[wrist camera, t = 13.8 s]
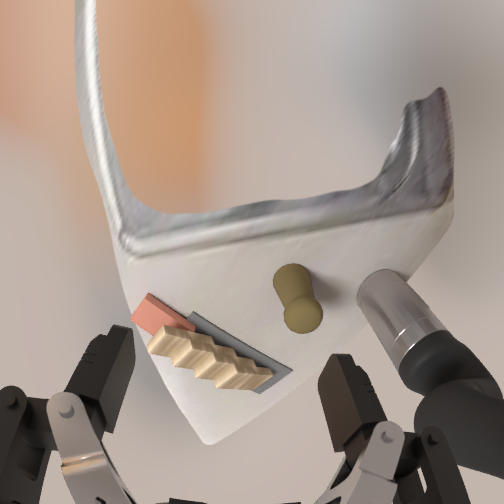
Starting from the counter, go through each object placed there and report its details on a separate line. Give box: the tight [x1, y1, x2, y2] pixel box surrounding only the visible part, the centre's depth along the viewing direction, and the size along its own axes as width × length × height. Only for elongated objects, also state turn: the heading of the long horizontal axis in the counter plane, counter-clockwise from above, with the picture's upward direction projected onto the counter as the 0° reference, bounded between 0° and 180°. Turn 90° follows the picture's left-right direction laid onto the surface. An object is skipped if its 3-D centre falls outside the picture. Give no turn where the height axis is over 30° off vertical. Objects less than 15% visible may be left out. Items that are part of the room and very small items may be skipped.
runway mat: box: [186, 312, 292, 394], centre depth 50 cm, size 24×10×1 cm, turn 49°
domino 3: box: [172, 340, 237, 369], centre depth 46 cm, size 2×6×10 cm
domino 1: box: [130, 293, 196, 336], centre depth 45 cm, size 2×6×10 cm
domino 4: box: [193, 353, 256, 380], centre depth 47 cm, size 2×6×10 cm
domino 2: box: [147, 325, 215, 358], centre depth 44 cm, size 2×6×10 cm
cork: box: [273, 264, 323, 334], centre depth 39 cm, size 6×6×11 cm
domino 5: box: [214, 364, 274, 390], centre depth 48 cm, size 2×6×10 cm
